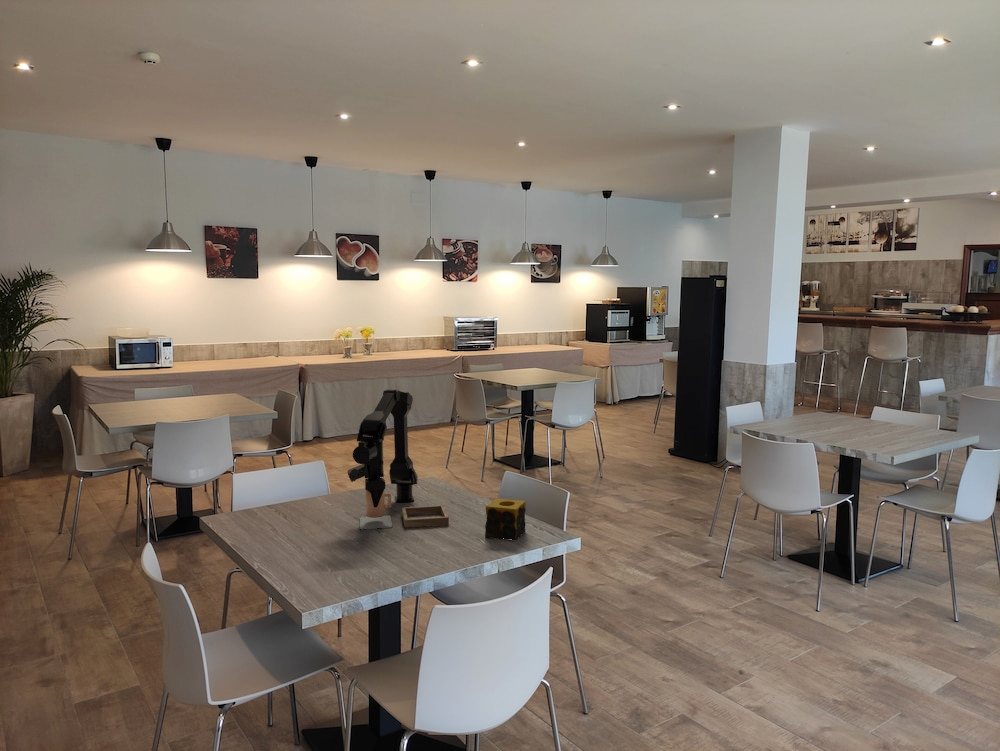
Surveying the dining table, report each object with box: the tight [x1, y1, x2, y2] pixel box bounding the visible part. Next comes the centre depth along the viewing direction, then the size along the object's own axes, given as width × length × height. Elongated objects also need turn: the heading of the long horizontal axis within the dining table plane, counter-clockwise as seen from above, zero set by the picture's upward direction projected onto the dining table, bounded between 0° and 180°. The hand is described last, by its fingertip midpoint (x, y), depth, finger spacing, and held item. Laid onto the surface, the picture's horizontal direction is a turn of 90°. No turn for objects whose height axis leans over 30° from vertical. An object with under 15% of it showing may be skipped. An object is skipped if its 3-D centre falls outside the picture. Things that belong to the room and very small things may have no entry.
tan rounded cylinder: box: [365, 490, 392, 518], centre depth 234 cm, size 6×8×9 cm
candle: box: [484, 498, 527, 541], centre depth 222 cm, size 10×10×10 cm
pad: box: [359, 515, 393, 531], centre depth 234 cm, size 12×10×1 cm
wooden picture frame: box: [401, 504, 450, 529], centre depth 237 cm, size 14×14×2 cm
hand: (375, 504), depth 234 cm, fingers closed on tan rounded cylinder, 6 cm apart
